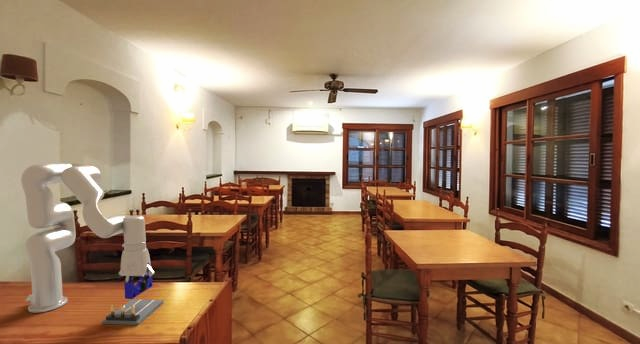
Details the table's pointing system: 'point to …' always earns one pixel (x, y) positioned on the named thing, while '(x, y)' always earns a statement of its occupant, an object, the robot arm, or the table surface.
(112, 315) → the brass pins
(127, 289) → the blue curved bracket
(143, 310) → the header board
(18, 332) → the table surface
